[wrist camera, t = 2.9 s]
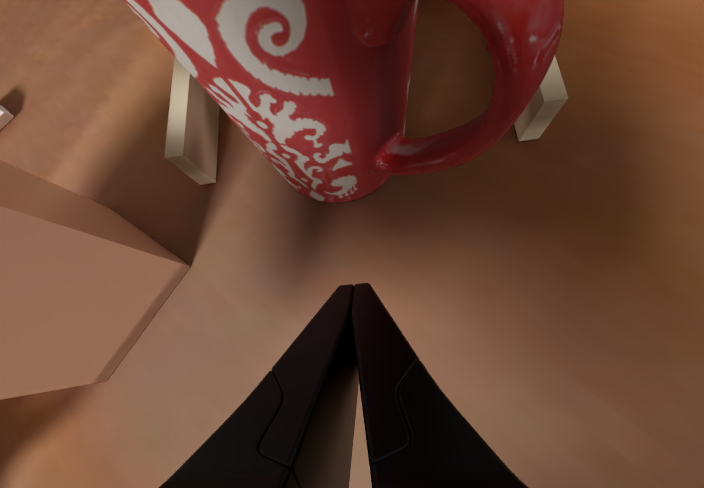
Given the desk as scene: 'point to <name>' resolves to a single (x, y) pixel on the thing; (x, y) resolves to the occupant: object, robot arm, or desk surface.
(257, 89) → the mug
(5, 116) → the marker
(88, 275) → the terracotta pot
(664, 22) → the desk surface
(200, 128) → the bay
